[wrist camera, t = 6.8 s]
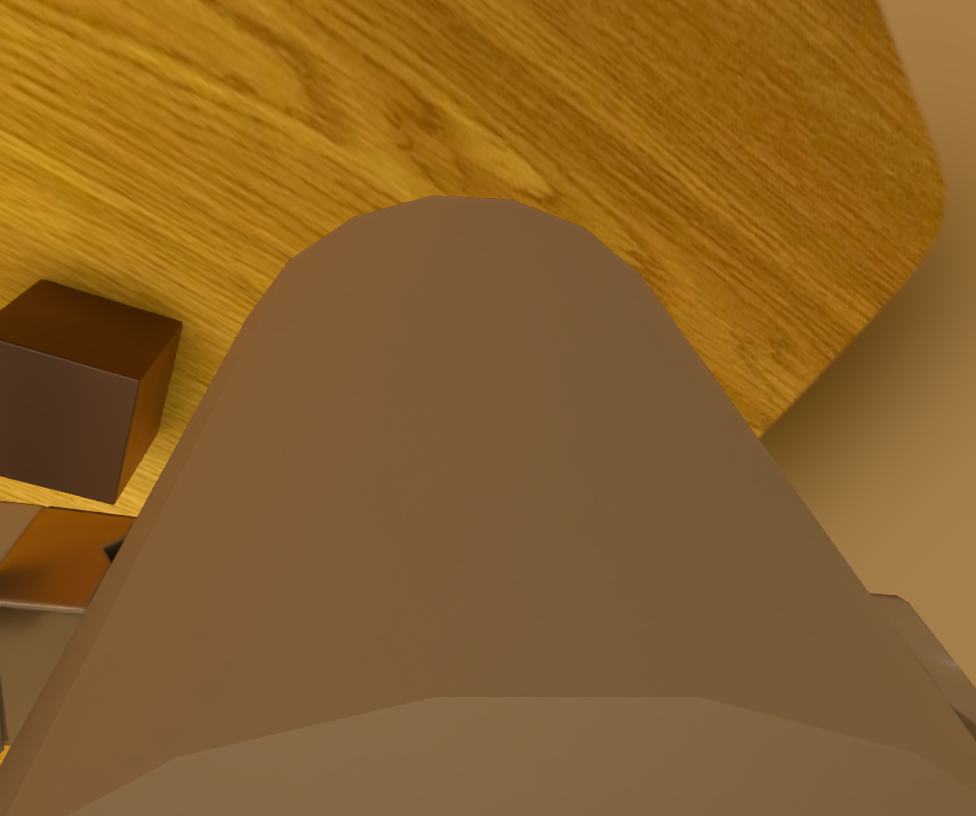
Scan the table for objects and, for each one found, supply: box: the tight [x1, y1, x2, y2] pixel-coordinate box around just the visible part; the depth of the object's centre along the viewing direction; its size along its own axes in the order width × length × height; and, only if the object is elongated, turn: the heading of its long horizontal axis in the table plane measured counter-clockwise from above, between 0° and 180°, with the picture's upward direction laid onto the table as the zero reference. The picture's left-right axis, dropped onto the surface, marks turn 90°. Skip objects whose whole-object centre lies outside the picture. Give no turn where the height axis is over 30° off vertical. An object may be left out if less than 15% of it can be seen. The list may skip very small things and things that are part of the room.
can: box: [0, 196, 976, 816], centre depth 9 cm, size 8×8×12 cm
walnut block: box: [0, 280, 182, 505], centre depth 29 cm, size 5×5×5 cm
